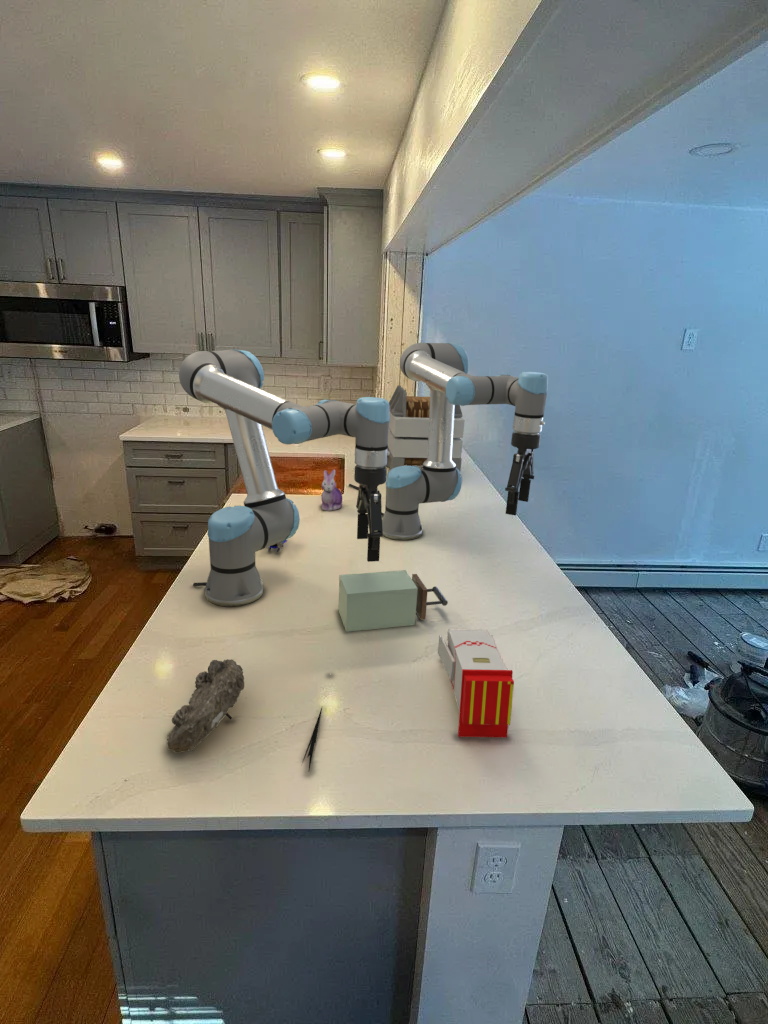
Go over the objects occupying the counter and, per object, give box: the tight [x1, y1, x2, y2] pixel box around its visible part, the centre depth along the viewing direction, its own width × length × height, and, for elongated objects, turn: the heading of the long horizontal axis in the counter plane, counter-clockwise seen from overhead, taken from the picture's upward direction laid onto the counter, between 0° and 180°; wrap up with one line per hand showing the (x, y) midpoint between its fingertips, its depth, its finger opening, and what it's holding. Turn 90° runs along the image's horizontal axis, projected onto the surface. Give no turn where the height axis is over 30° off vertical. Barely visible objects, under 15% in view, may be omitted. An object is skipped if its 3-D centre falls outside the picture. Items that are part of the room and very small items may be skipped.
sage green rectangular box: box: [338, 569, 417, 633], centre depth 143 cm, size 18×10×10 cm, turn 105°
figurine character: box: [266, 539, 288, 553], centre depth 184 cm, size 7×8×15 cm
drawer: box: [411, 573, 449, 621], centre depth 145 cm, size 22×9×8 cm, turn 105°
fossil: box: [166, 658, 245, 754], centre depth 106 cm, size 22×10×15 cm
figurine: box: [320, 469, 343, 511], centre depth 220 cm, size 9×10×15 cm
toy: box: [437, 628, 515, 738], centre depth 117 cm, size 12×13×30 cm
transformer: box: [385, 384, 465, 474], centre depth 268 cm, size 34×33×41 cm
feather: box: [301, 673, 332, 771], centre depth 108 cm, size 2×28×2 cm
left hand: (367, 549), depth 139 cm, fingers open, 13 cm apart
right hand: (517, 507), depth 158 cm, fingers open, 13 cm apart
